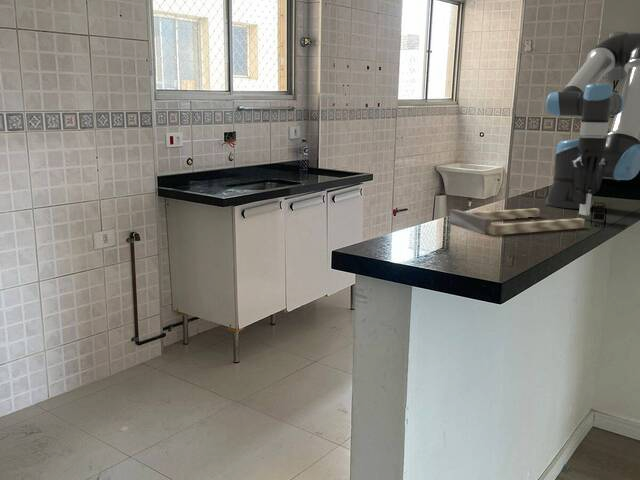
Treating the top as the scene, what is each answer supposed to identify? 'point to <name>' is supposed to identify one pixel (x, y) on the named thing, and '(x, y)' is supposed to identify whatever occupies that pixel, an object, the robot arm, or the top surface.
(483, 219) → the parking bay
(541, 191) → the top surface
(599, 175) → the robot arm
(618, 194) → the top surface
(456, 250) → the top surface
